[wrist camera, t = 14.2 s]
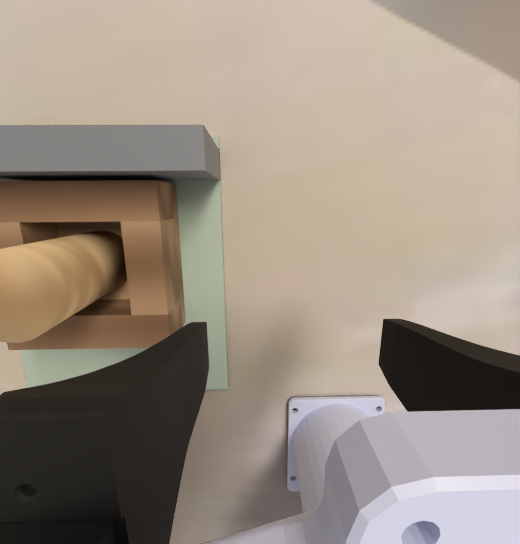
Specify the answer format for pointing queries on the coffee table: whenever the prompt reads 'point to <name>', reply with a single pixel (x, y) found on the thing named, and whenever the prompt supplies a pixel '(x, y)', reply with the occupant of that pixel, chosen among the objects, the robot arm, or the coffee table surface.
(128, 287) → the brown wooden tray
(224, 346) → the sage rubber mat
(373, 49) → the coffee table surface
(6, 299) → the oak dowel
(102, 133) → the slate stop wall
